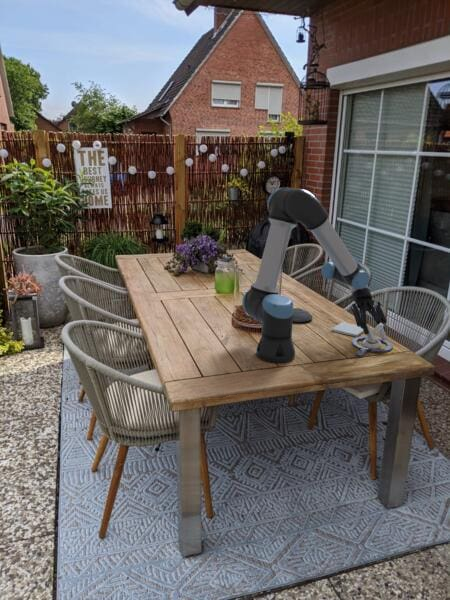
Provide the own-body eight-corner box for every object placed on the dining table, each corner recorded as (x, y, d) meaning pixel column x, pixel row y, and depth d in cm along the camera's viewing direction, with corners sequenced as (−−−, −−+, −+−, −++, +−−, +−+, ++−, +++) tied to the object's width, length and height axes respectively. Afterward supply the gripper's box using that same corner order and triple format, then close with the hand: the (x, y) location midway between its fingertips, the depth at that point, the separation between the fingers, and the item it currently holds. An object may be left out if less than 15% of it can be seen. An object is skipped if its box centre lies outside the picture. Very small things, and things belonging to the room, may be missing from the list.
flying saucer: (287, 312, 228) (287, 302, 226) (315, 317, 222) (316, 306, 220) (277, 321, 215) (277, 310, 213) (307, 326, 209) (308, 315, 207)
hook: (397, 336, 181) (385, 329, 179) (376, 356, 186) (365, 350, 183) (389, 326, 188) (378, 319, 185) (369, 346, 192) (358, 339, 190)
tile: (356, 337, 195) (357, 334, 195) (331, 330, 202) (331, 328, 202) (366, 329, 205) (367, 327, 204) (342, 323, 212) (342, 321, 211)
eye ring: (378, 361, 171) (378, 359, 171) (339, 351, 180) (339, 349, 180) (397, 344, 188) (397, 342, 188) (360, 335, 198) (360, 333, 197)
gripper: (374, 294, 198) (392, 341, 188) (337, 296, 194) (354, 346, 183) (383, 285, 192) (402, 334, 182) (345, 288, 187) (362, 338, 177)
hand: (378, 340), depth 183 cm, fingers open, 5 cm apart
